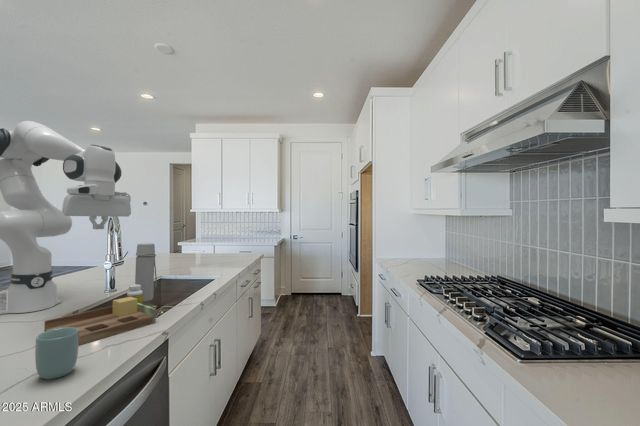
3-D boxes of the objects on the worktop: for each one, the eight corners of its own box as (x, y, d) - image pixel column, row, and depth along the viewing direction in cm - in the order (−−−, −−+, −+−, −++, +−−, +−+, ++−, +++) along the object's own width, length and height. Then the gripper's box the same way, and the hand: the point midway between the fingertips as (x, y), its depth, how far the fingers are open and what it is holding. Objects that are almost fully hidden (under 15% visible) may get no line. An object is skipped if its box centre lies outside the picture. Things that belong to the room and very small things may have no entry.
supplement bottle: (134, 312, 117) (135, 287, 117) (122, 311, 118) (123, 286, 118) (145, 308, 122) (145, 284, 122) (134, 307, 123) (134, 283, 123)
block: (112, 314, 107) (112, 300, 107) (130, 309, 112) (130, 296, 112) (119, 317, 104) (119, 302, 104) (137, 312, 109) (137, 298, 109)
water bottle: (141, 303, 128) (143, 245, 128) (130, 300, 131) (132, 244, 131) (161, 298, 136) (162, 243, 136) (150, 296, 139) (152, 242, 140)
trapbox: (44, 336, 93) (44, 319, 93) (132, 314, 115) (133, 299, 115) (64, 349, 84) (64, 330, 84) (155, 322, 106) (155, 307, 107)
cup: (34, 374, 72) (35, 332, 72) (75, 363, 77) (77, 324, 77) (34, 388, 66) (36, 342, 66) (79, 375, 72) (80, 333, 72)
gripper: (126, 192, 118) (125, 228, 117) (60, 188, 100) (59, 229, 100) (134, 192, 114) (133, 228, 114) (68, 187, 97) (67, 230, 97)
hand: (98, 229), depth 107 cm, fingers closed
